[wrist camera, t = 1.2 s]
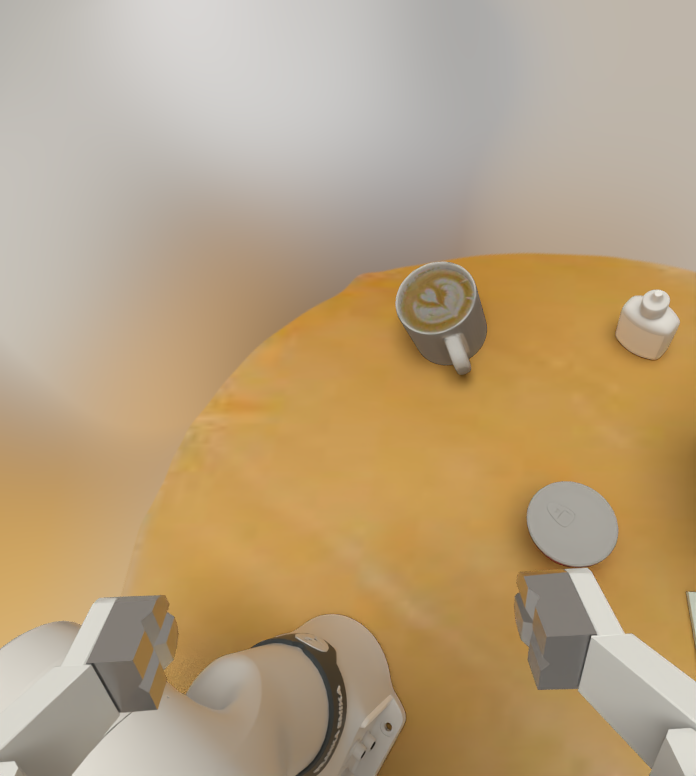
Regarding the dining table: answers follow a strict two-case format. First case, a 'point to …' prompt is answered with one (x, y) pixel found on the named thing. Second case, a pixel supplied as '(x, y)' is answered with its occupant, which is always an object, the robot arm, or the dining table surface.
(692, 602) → the sage mat
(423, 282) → the coffee mug
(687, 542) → the dining table surface
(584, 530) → the canned food
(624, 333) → the eye dropper bottle
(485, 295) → the dining table surface
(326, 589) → the dining table surface
